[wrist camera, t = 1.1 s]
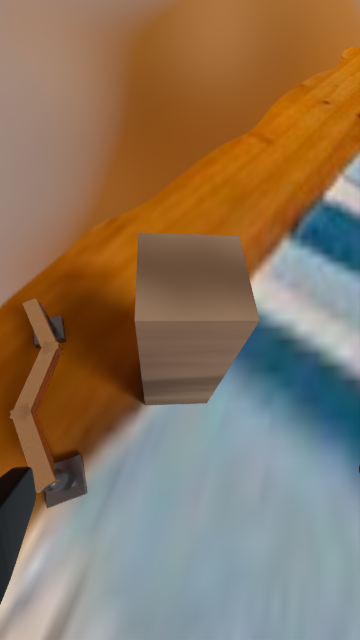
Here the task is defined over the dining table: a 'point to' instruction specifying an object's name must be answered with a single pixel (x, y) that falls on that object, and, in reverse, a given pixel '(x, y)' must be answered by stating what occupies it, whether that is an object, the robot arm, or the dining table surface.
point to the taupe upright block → (190, 313)
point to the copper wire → (48, 476)
